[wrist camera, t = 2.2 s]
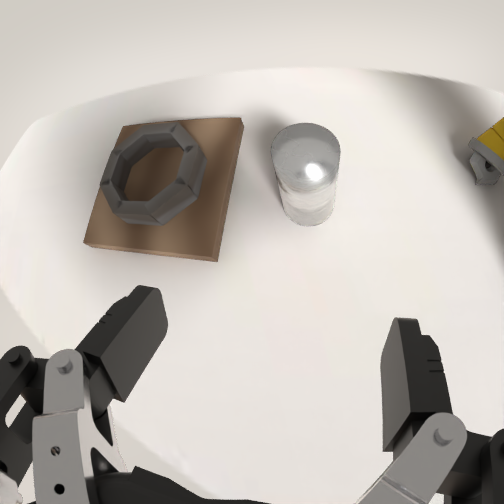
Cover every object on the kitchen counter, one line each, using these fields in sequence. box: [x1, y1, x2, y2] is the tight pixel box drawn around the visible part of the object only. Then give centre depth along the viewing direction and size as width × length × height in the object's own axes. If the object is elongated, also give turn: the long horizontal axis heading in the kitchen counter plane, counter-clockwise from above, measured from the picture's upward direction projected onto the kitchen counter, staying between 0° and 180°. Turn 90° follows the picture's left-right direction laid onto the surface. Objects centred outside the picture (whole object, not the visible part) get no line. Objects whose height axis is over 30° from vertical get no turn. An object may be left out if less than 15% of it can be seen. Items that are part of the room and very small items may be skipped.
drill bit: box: [469, 117, 504, 185], centre depth 21 cm, size 5×5×10 cm
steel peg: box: [271, 123, 340, 226], centre depth 23 cm, size 4×4×8 cm
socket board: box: [83, 118, 244, 262], centre depth 28 cm, size 14×14×4 cm
